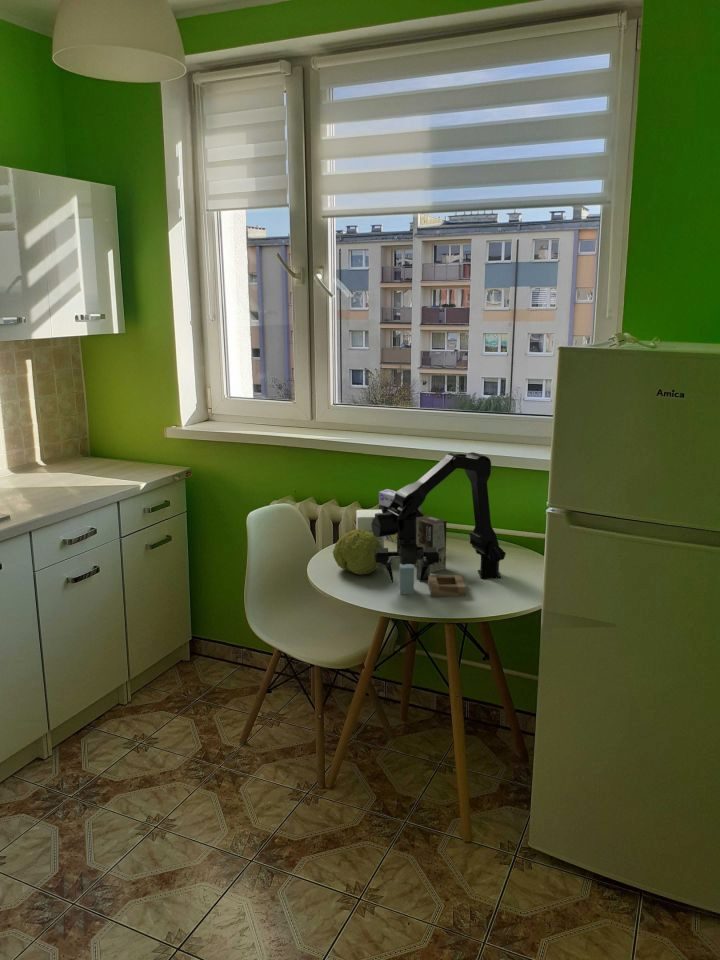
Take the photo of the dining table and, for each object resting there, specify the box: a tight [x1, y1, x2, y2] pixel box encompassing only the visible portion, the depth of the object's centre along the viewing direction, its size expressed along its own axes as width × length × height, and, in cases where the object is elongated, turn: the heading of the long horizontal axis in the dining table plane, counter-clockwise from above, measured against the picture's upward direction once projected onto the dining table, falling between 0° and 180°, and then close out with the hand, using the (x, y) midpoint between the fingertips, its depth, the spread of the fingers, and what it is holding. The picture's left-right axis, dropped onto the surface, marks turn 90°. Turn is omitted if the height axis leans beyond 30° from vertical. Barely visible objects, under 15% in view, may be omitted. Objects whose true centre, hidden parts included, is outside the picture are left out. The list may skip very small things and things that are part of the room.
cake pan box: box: [377, 488, 422, 544], centre depth 273 cm, size 19×5×18 cm, turn 38°
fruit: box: [332, 528, 382, 576], centre depth 245 cm, size 16×14×15 cm
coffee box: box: [413, 514, 447, 573], centre depth 248 cm, size 9×6×16 cm
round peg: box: [416, 559, 431, 582], centre depth 240 cm, size 4×4×8 cm
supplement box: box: [355, 509, 385, 548], centre depth 260 cm, size 9×9×15 cm
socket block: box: [427, 574, 467, 598], centre depth 231 cm, size 10×10×3 cm
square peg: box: [398, 563, 415, 595], centre depth 230 cm, size 4×4×8 cm
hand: (406, 582), depth 230 cm, fingers open, 8 cm apart
